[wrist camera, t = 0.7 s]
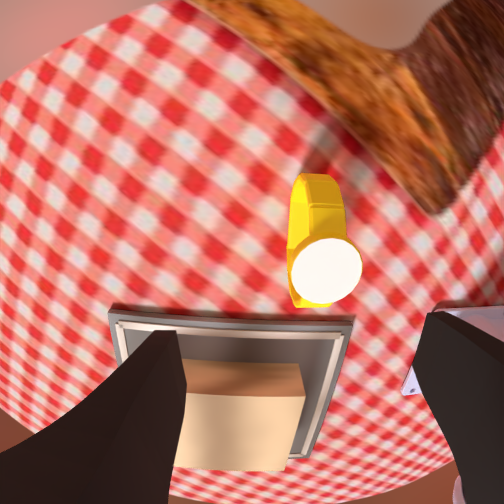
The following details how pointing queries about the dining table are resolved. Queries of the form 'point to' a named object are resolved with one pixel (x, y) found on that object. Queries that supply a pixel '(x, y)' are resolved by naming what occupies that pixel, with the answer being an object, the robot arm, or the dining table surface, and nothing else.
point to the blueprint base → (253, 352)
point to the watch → (319, 244)
